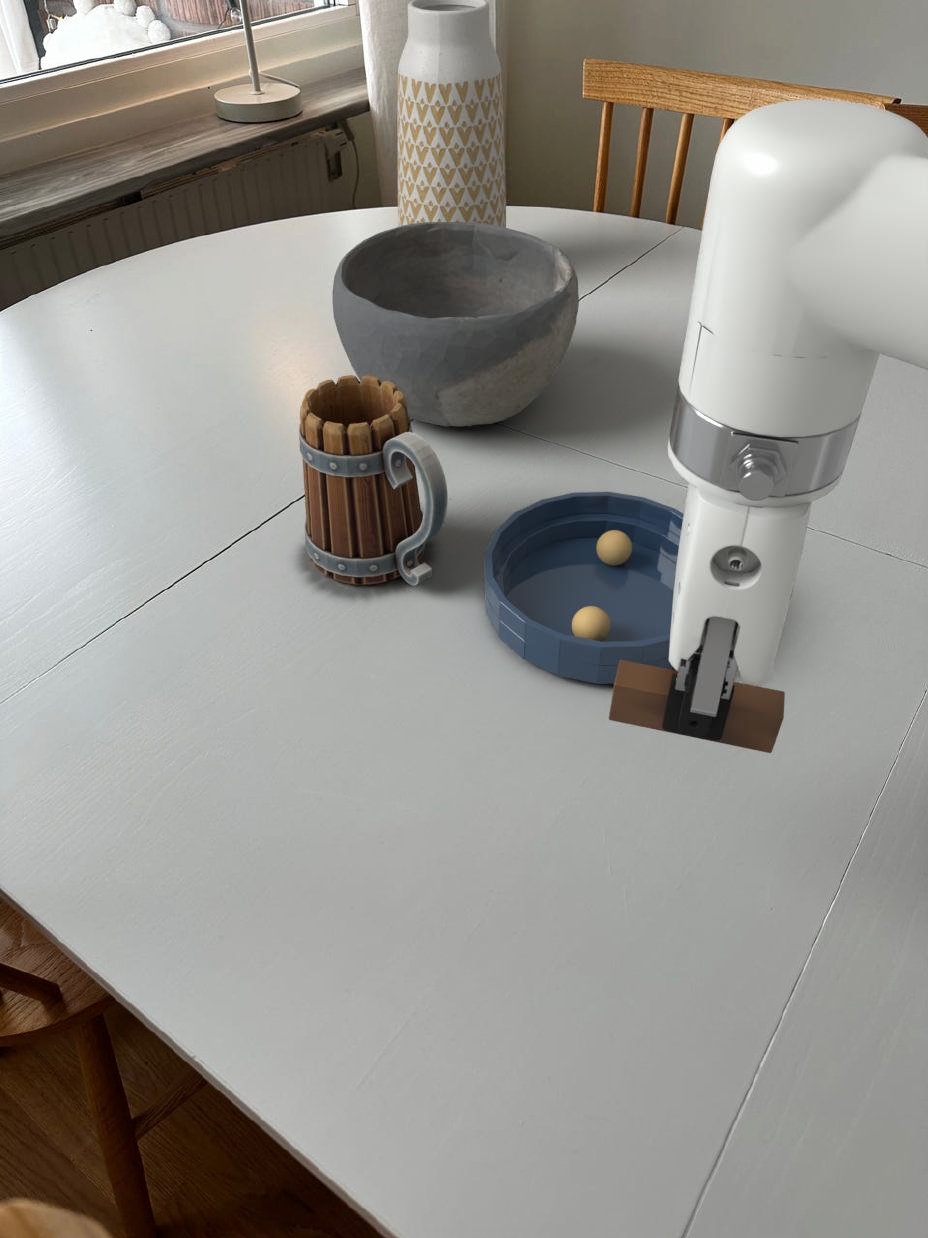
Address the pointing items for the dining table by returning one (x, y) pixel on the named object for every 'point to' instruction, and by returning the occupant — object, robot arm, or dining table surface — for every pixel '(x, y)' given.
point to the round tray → (584, 582)
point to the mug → (367, 483)
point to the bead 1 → (591, 624)
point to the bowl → (457, 317)
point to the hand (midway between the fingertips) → (694, 712)
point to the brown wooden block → (746, 726)
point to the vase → (450, 117)
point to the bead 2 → (614, 547)
